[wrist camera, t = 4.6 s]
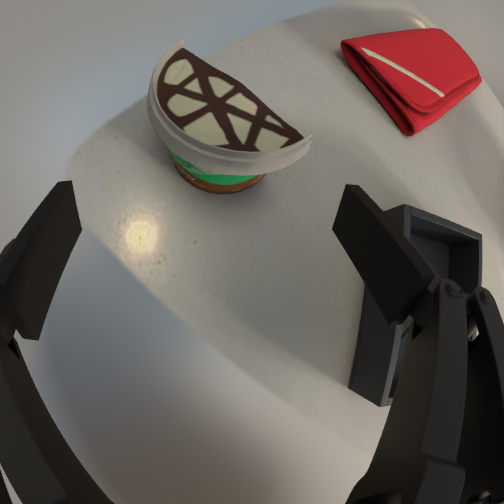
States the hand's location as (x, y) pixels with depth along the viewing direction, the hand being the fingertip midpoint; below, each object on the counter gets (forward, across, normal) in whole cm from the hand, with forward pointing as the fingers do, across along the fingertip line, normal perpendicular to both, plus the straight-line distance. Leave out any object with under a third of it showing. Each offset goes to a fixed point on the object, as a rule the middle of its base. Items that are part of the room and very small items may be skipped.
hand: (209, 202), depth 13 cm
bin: (+3, +22, -13) cm, 26 cm away
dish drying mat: (+30, +37, +14) cm, 49 cm away
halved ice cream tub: (+13, 0, -4) cm, 13 cm away
